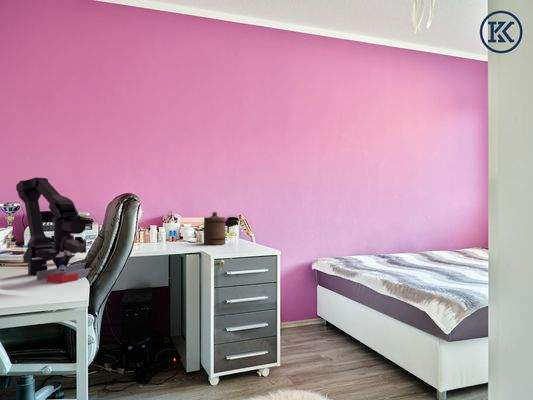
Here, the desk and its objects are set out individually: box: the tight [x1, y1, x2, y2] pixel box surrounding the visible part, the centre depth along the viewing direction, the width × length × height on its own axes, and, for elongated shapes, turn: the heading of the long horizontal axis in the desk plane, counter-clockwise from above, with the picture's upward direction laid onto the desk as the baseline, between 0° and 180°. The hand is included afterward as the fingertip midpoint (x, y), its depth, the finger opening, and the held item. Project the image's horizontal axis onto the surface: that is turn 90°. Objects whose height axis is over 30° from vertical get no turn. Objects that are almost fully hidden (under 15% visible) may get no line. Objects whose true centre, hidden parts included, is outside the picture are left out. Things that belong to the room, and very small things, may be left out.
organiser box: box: [36, 261, 91, 281], centre depth 160 cm, size 13×25×3 cm, turn 162°
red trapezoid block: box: [46, 265, 79, 284], centre depth 148 cm, size 8×7×6 cm
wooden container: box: [203, 211, 226, 246], centre depth 281 cm, size 15×15×22 cm
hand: (62, 274), depth 154 cm, fingers closed
